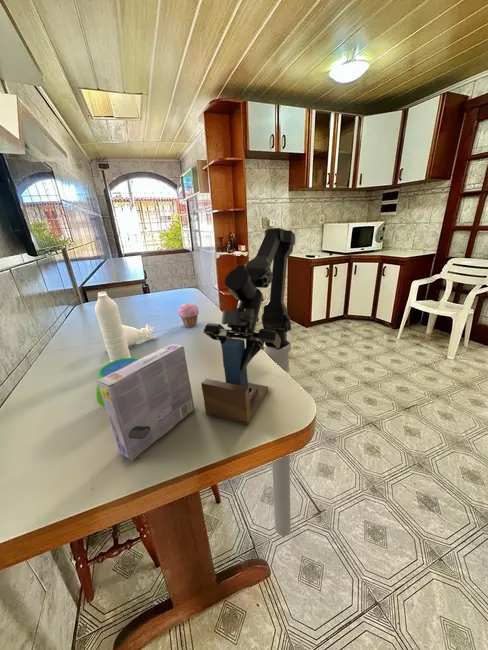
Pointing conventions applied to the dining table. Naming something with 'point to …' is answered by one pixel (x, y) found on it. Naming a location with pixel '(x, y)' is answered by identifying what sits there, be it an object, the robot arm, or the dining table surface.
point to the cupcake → (188, 314)
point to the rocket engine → (137, 334)
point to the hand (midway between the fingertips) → (232, 369)
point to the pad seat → (232, 400)
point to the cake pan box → (147, 399)
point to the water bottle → (111, 327)
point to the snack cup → (111, 369)
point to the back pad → (234, 362)
